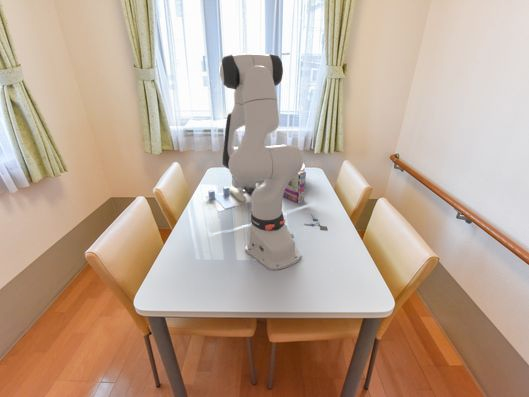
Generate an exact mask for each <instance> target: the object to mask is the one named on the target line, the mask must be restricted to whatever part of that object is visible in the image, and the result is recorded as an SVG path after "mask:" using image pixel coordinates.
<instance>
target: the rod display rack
mask: <svg viewBox="0 0 529 397" xmlns="http://www.w3.org/2000/svg"><path fill="white" fill-rule="evenodd" d="M251 186H252V187H253V188H257V184H252V185H251ZM229 187H230V186H223V187H222V192H218V193H215V190H214V189H210V190H208V195H207V196H205V198H206V199H207V200H208V202H209V203H210V204H211V205H213V207H214V208H215V209H216V210H217V211H218V212H223V211H225V210H229V209H233V208H236V207H241V206H244V205H247V204H252V200H251V196H252V195H251V194H250V193H249V192H248V191H246V190H245V189H244V188H243V190H245V194H242V195H244V196H245V197H246V201H245V202H241V201H240V200H238V199H237V198H236V197H235V196H234V195H233V194H232V193H231V192H230V191H229ZM235 189H236V190H238V191H239V192H240V193H241V190H240V189H239V188H235Z"/></svg>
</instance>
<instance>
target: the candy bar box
mask: <svg viewBox="0 0 529 397" xmlns="http://www.w3.org/2000/svg"><path fill="white" fill-rule="evenodd" d="M306 175H307V172H306V171H301V170H300V172H298V173H297V174H296V175H295V176H294V177H293V178H292V179H291V180H290V182H289V183H288V185H287V187H286V189H285V191H284V194H283V198H286V199H288V200H290V201H292V202H293V203H296V204H299V203H301V202H304V201H305V200H304V199H305V186H306Z"/></svg>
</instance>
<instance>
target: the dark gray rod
mask: <svg viewBox="0 0 529 397" xmlns="http://www.w3.org/2000/svg"><path fill="white" fill-rule="evenodd" d="M243 188H244V189H245V190H246V191H248V192H249V193H250V194H251V195H252V193H253V191H254V189H255V188H253V187H252V186H251V185H248V186H244V187H243Z"/></svg>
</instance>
